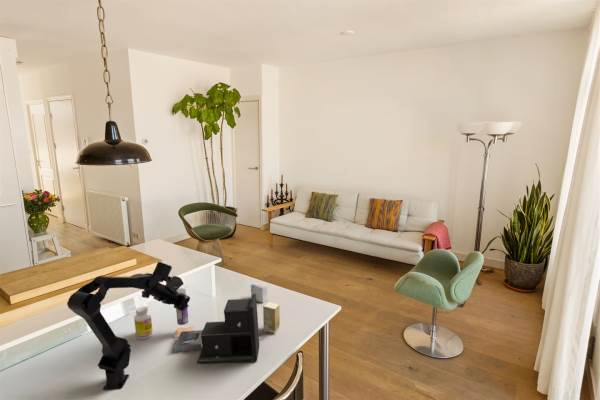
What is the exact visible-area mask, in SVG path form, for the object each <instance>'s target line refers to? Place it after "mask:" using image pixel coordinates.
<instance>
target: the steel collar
mask: <svg viewBox="0 0 600 400" xmlns="http://www.w3.org/2000/svg"><path fill="white" fill-rule="evenodd" d="M202 331H203V329H200V330H193V331H183V332H181V334H180V336H179V338H177V341H176V343H175V346H174V348H175V353H188V352H189V353H190V352H201V350H202V339H201V333H202ZM192 340H196V341H192Z"/></svg>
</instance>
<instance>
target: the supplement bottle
mask: <svg viewBox="0 0 600 400" xmlns="http://www.w3.org/2000/svg"><path fill="white" fill-rule="evenodd" d="M135 313H136V314H135V315H134V317H133V320H134V329H135V336H136V339H138V340H146V339H148V338H150V337H152V335H153V333H154V331H153V323H152V314H151V312H150V311H149V308H148V306H146V305H144V306H142V305H141V306H139V307H137V308H136V309H135Z"/></svg>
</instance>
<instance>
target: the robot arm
mask: <svg viewBox="0 0 600 400" xmlns="http://www.w3.org/2000/svg"><path fill="white" fill-rule="evenodd" d="M172 270H173V266H171V265H169V264H167V263H164V262H163V261H158V262H157V263H156V266H155V269H153V272H152V273H149V272H146V273H135V274H132V275H129V276H106V275H105V276H104V275H99V276H96V277H95V278H94V279H93V280H92V281H89V282H88V283H86V284H84V285H83V286H81V287H79V288H78V289H77V290H76V291H75V292H73V293H72V294H71V295H70V296H69V298H68V300H67V302H66V303H67V307H68V309H69V310H71V311H72V312H73V313H74V314H76V315H78V316H79V317H81V318H82V319H83V320H84V321H85V322H86V324H87V325H88V327H89V329H91V331H92V333H93V334H94V336H95V337H96V339H98V341H99V343H100V344H101V346H102V347H101V353H102V356H101V358H100V360H99V362H98V363H97V367H98V368H99V370H104V371H105V378H106V379H105V380H106V383H105V384H104V386H103V387H102V389H103V391H104V390H115V389H122V388H123V387H124V386H125V384H126V382H127V381H128V379H129V377H130V374H125V369H127V368H128V367H129V365H130V360H131V359H130V358H131V353H132V350H131V347H132V345H130V344H129V342H128V340H127V338H124V337H120V336H117V335H116V334H115V333H114V331H113V329H112V328H111V326H110V325H109V323H108V322H107V319H106V318H105V317H104V316H103V314H102V312H101V309H102V308H101V307H102V305H101V303H102V302H103V300H104V299H105V298H106V295H107V293H108V291H109V290H110V289H125V288H126V289H127V288H129V289H130V288H131V289H132V288H133V289H137V290H138V289H139V290H142V291H141V297H142V298H144V299H149V298H150V297H153V300H156V301H158V302H161V303H162V304H165V305H173V308H174V309H175V310H176V309H178V310H180V311H184V309H185V308H187V309H189V308H188V307H189V306H190V305H189V304H188V303H190V300H191V297H190V296H188V295H187V294H186V295H184V294H180V295H178V296H177V295H175V294H177V292H178V291H176V290H178V289H181V288H182V286H183V285H184V281H183V280H182V278H181V277H180V276H175V275H173V276H170V273H171V271H172ZM163 282H165V284H163ZM93 292H95V293H93ZM175 297H176V298H175Z"/></svg>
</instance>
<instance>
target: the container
mask: <svg viewBox="0 0 600 400" xmlns="http://www.w3.org/2000/svg"><path fill="white" fill-rule="evenodd" d="M176 291H178V292H177V294H175V295H177V296H178V295H180V294H184V295H187V292H186V288H182V287H180V288H179V289H178V290H176ZM175 298H176V297H175ZM188 309H189V308H185V309H184V311H180V310H178V309H176V308H175V311H176V312H175V314H176V322H177V325H179V326H184V325H187V324H188V323H189V313H188Z"/></svg>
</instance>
